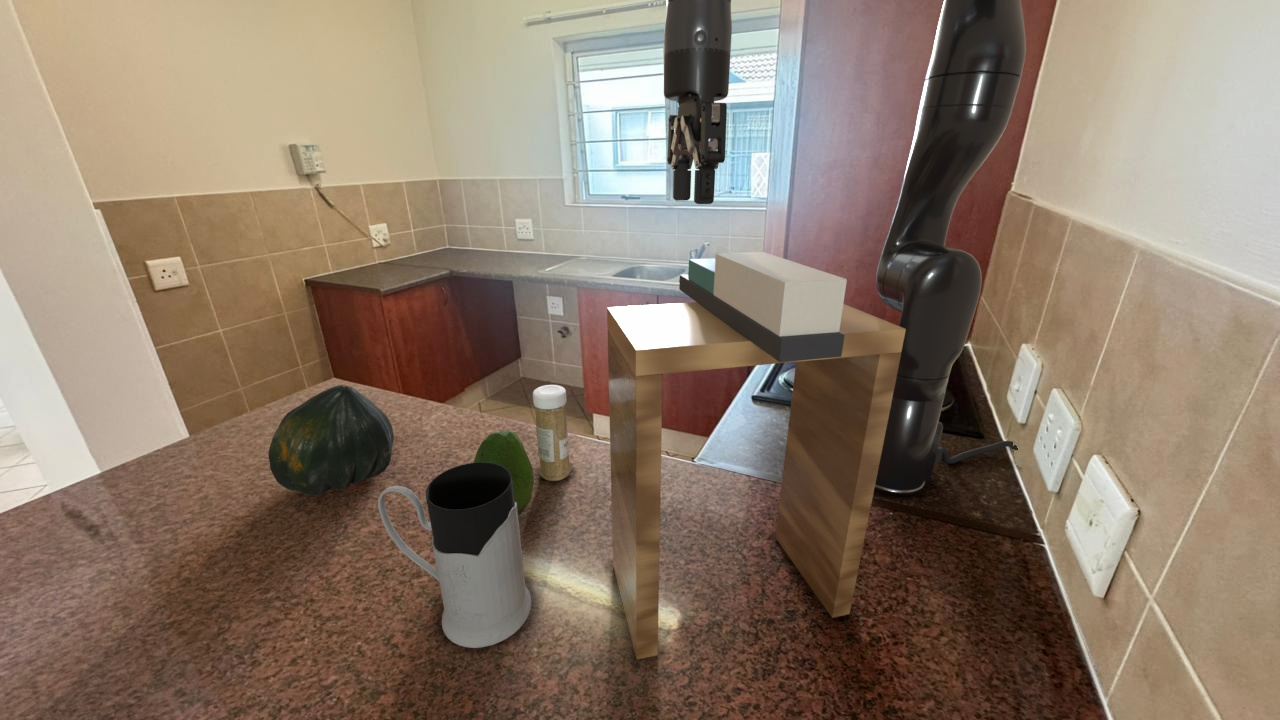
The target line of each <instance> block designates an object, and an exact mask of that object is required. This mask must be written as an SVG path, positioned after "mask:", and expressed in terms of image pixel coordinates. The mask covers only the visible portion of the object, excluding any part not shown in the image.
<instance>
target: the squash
mask: <svg viewBox="0 0 1280 720" xmlns="http://www.w3.org/2000/svg"><path fill="white" fill-rule="evenodd" d="M394 434H395V433H394V429H393V425H392V423H391V420H390V419H389V417H388V416H387V414H386V413H385V412H384V411H383V410H381V408H380V407H378V406H377V405H376V403H374V401H372V400H371V399H369V398H368V397H367V396H365V395H364V394H362V393H360V391H358V390H357V389H355V388H354V387H352V386H349V385H347V384H339V385H334V386H332V387H329V388H327V389H325V390H323V391H321V392H319V393H317V394H316V395H313V396H312V397H310V398H309V399H307V400H306V401H304V402H303V403H301V404H300V405H298V406H296V407H294V408H293V409H291V410H289V412H287V413H286V414H285V415H284V417H283V418H282V419H281V421H280V422H279V425H278V427H277V428H276V430H275V432H274V434H273V436H272V438H271V442H270V445H269V449H268V462H269V469H270V471H271V474H272V475H273V476H274V479H275V480H276V482H277V483H278V484H279V485H280V486H281V487H283V488H284V489H286V490H289V491H292V492H299V493H301V494H303V495H305V496H310V497H315V496H321V495H324V494H326V493H327V492H329V491H330V490H331V489H333V490H335V491H343V490H344V491H345V490H347V489H348V488H349V487H350V486H351V485H356V484H359V483H362V482H364V481H365V480H368V479H370V478H374V477H376V476H379V475H381V474H382V473H384V471H385V470H387V468H388V466H389V465H390V464H391V460H392V454H393V445H394V439H395V436H394Z"/></svg>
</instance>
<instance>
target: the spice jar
mask: <svg viewBox="0 0 1280 720" xmlns="http://www.w3.org/2000/svg"><path fill="white" fill-rule="evenodd" d="M532 391H533V392H532V403H533V406H534V412H535V429H536V441H537V450H538V457H539V466H540V469H539V475H540V477H541V478H542V479H544V480H546V481H550V482H557V481H561V480H564V479H566V478H567V477H568V476H570V474H571V470H572V469H571V466H570V446H569V435H568V434H569V433H568V422H567V408H566V405H567V400H568V399H567V390H566V388H565V387H563V386H562V385H559V384H545V385H541V386H539V387H536V388H535V389H534V390H532Z"/></svg>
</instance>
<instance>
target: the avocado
mask: <svg viewBox="0 0 1280 720" xmlns="http://www.w3.org/2000/svg"><path fill="white" fill-rule="evenodd" d="M476 462H488V463H494V464H498V465H501V466H503V467H505V468H506V469H507V470H508V471H509V472H510V474H511V476H512V484H513V493H514V503H515V502H516V503H517V513H518V516H519V515H521V514H522V513H523V512H524V511H525V510H526V508H527V506H528V505H529V504H530V502H531V499H532V495H533V490H534V485H535V479H534V469H533V465H532V463H531V461H530V458H529V456H528V454H527V451H526V448H525V447H524V444H523V443H522V440H521V439H520V438H519V436H518V434H517V433H516V432H514V431H511V430H509V429H505V430H499V431H494V432H491V433H490V434H488V435H487V436H486V437H485V438H484V440H482V442H481V443H480V445H479V447H478V449H477V450H476V453H475V456H474V459H473V462H472V463H476Z"/></svg>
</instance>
